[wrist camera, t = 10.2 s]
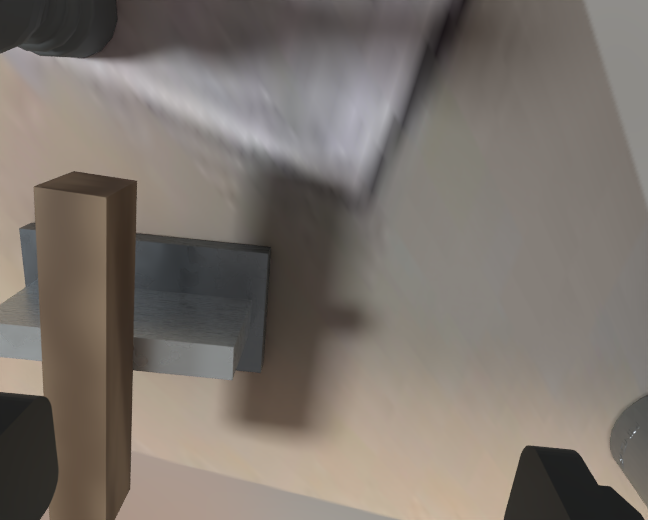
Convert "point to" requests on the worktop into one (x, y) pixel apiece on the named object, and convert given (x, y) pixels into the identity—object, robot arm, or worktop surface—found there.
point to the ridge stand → (170, 307)
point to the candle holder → (57, 26)
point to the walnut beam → (88, 336)
